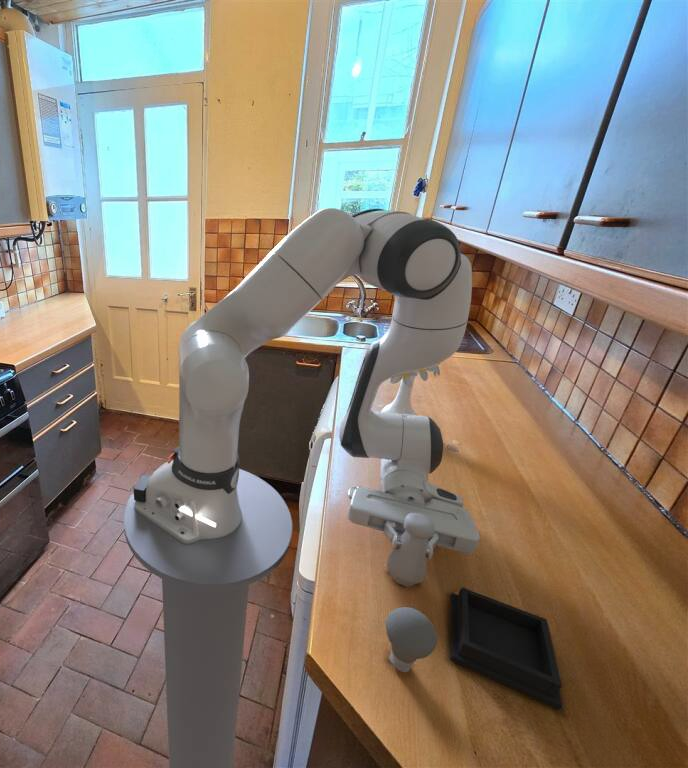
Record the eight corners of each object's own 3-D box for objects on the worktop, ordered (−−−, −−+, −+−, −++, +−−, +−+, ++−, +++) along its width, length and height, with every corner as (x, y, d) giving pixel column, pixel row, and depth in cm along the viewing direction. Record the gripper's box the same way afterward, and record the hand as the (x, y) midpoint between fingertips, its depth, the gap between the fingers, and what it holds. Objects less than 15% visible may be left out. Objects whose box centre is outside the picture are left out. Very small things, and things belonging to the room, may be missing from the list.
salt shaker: (420, 597, 67) (441, 538, 61) (382, 581, 69) (399, 524, 64) (422, 571, 71) (442, 514, 66) (386, 557, 74) (402, 502, 68)
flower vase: (367, 436, 112) (385, 351, 101) (377, 409, 126) (395, 332, 115) (420, 450, 105) (446, 361, 95) (425, 420, 119) (448, 339, 109)
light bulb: (429, 664, 57) (448, 617, 53) (414, 697, 54) (434, 650, 49) (385, 634, 61) (399, 589, 57) (369, 664, 58) (383, 617, 53)
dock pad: (450, 660, 58) (457, 644, 56) (450, 596, 67) (456, 581, 66) (560, 710, 52) (570, 694, 51) (543, 632, 61) (552, 617, 60)
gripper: (351, 472, 81) (348, 518, 69) (473, 499, 73) (491, 556, 62) (346, 497, 83) (342, 545, 72) (462, 525, 76) (479, 585, 64)
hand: (412, 550), depth 67 cm, fingers closed on salt shaker, 3 cm apart
